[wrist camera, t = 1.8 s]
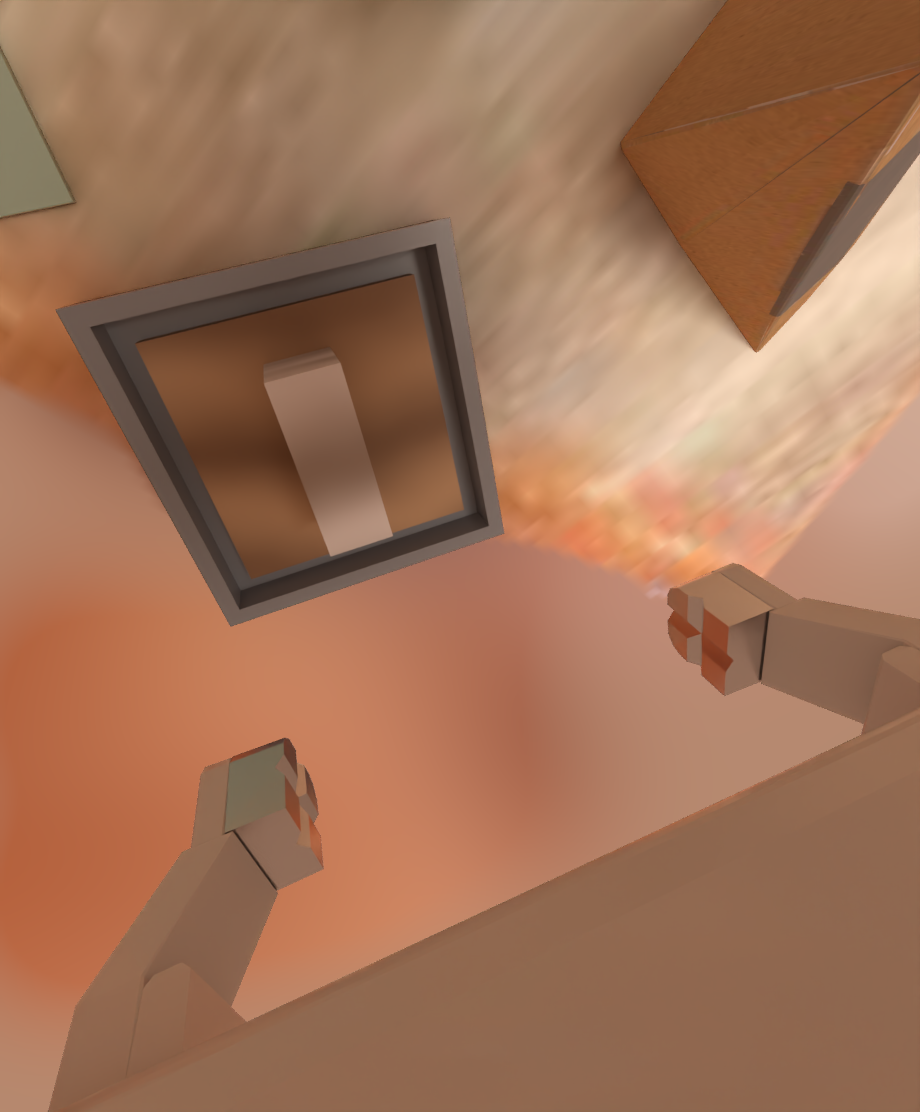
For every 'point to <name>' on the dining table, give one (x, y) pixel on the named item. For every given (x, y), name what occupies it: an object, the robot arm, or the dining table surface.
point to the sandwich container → (781, 144)
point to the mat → (25, 155)
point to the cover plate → (254, 430)
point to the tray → (218, 295)
